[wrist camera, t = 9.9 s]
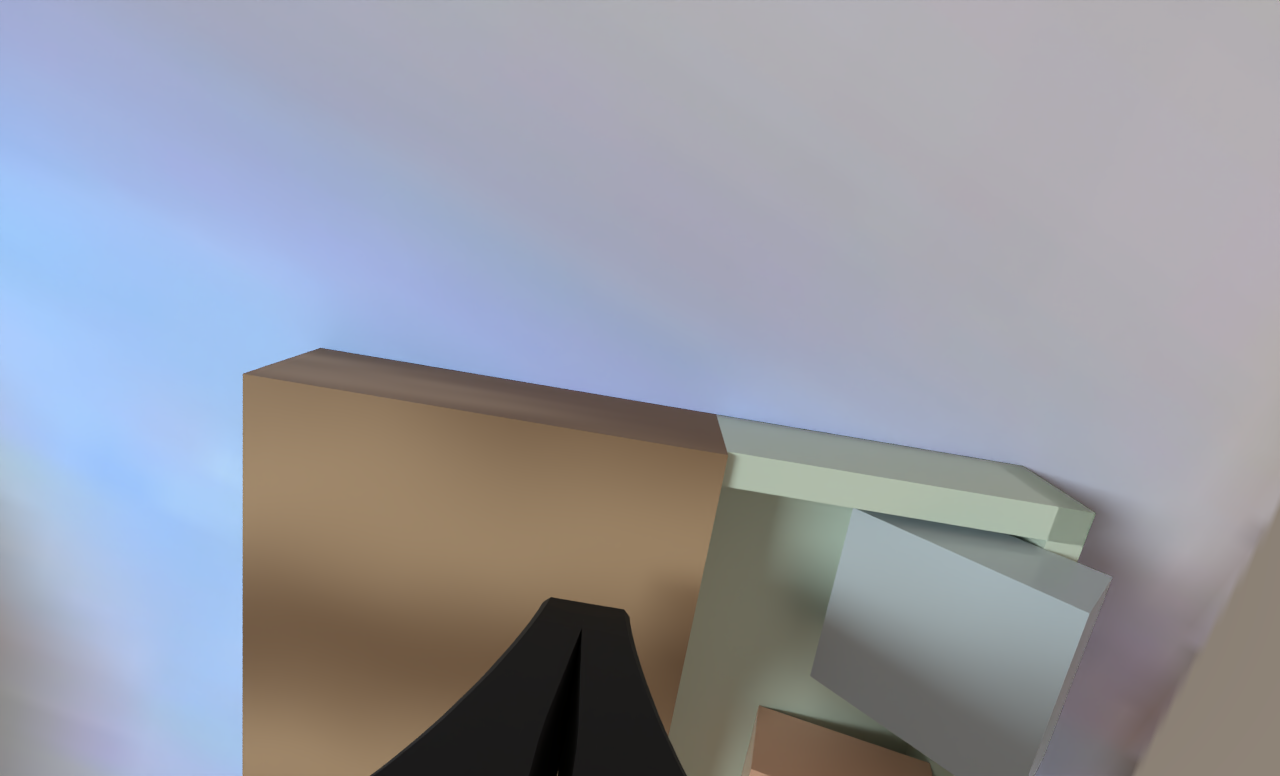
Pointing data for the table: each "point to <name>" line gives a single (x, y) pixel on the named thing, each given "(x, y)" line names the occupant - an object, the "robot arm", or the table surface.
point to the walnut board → (446, 542)
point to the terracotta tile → (819, 751)
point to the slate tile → (957, 638)
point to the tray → (821, 571)
